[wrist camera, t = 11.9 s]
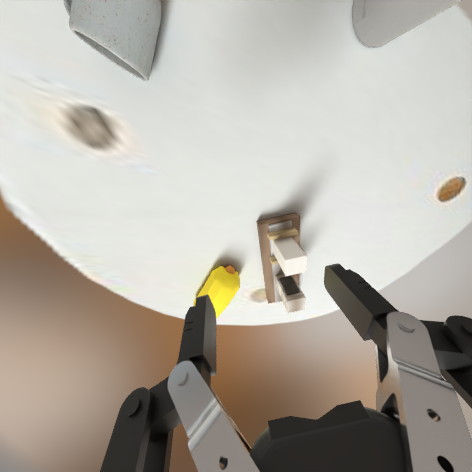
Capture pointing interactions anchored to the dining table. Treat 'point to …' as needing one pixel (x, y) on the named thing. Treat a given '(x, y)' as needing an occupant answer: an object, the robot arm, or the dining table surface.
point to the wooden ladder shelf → (274, 276)
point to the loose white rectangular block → (289, 255)
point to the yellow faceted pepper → (221, 287)
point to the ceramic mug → (119, 30)
